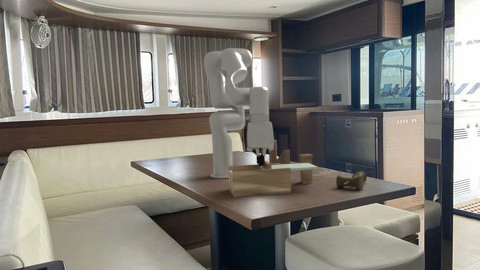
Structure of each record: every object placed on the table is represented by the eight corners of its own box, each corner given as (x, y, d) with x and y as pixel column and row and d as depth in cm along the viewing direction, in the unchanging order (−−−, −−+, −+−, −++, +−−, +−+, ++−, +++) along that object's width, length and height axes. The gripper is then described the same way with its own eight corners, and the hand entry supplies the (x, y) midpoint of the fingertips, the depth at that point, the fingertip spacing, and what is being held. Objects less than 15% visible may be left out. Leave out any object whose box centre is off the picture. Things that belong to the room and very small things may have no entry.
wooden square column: (299, 181, 160) (298, 154, 159) (310, 181, 161) (309, 153, 160) (302, 184, 155) (302, 155, 155) (313, 183, 156) (313, 155, 155)
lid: (259, 167, 150) (259, 160, 150) (308, 164, 153) (307, 158, 153) (265, 172, 139) (265, 164, 139) (317, 169, 142) (317, 161, 142)
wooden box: (228, 189, 150) (228, 166, 149) (281, 185, 153) (280, 162, 153) (233, 197, 136) (232, 171, 136) (291, 193, 140) (290, 168, 139)
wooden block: (285, 182, 159) (284, 141, 158) (267, 179, 167) (266, 140, 166) (291, 181, 162) (289, 140, 160) (273, 178, 170) (272, 139, 169)
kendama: (372, 184, 152) (356, 193, 136) (350, 183, 158) (332, 191, 141) (372, 170, 152) (356, 177, 136) (349, 169, 157) (331, 175, 141)
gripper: (241, 119, 138) (243, 168, 139) (280, 118, 140) (281, 166, 142) (238, 119, 146) (240, 165, 147) (275, 117, 148) (277, 163, 149)
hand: (260, 165), depth 144 cm, fingers closed
